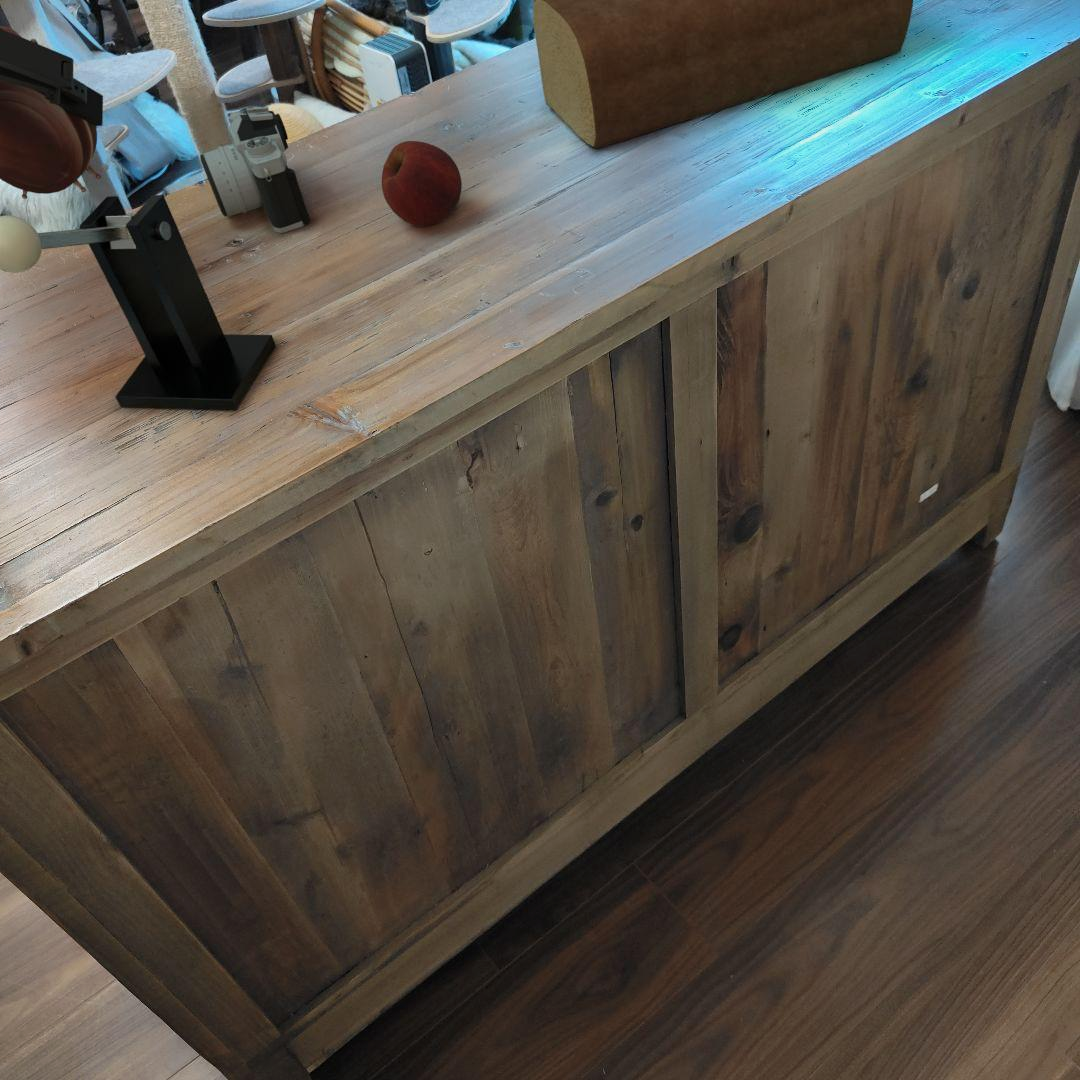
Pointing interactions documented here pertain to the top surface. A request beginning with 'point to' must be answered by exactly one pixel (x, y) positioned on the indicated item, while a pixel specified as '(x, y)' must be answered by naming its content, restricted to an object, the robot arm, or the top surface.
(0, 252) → the lever
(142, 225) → the lever bracket
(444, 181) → the apple
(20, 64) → the robot arm
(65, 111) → the alarm clock
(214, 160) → the camera
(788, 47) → the bread
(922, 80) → the top surface
